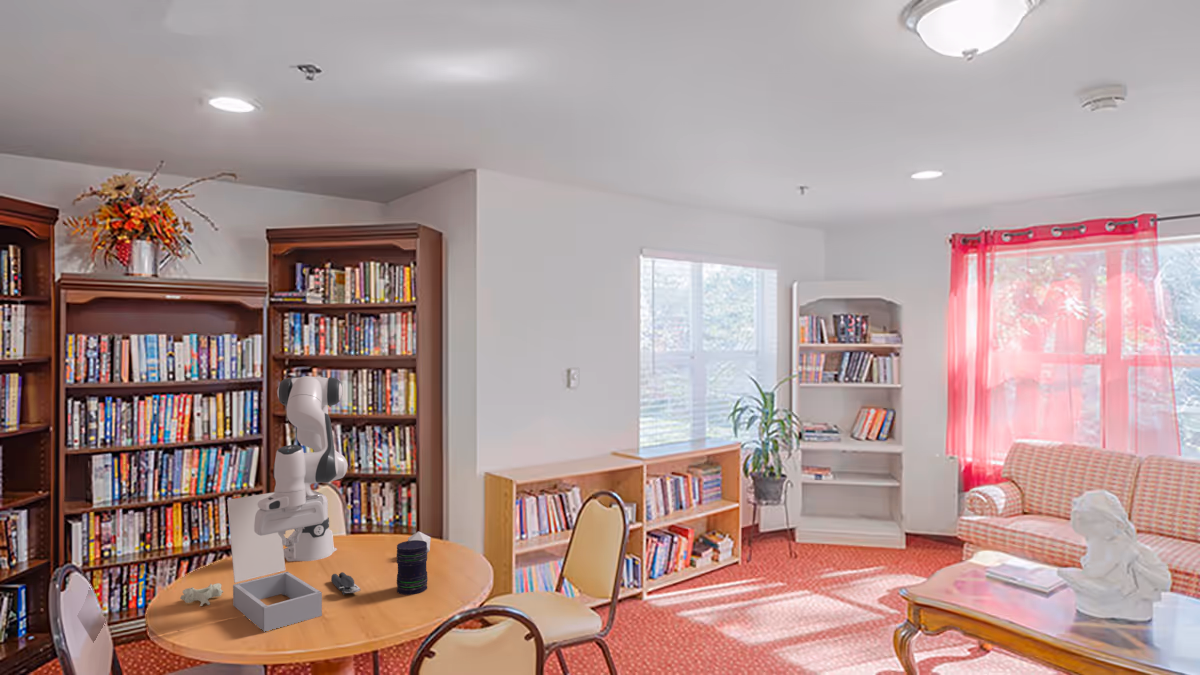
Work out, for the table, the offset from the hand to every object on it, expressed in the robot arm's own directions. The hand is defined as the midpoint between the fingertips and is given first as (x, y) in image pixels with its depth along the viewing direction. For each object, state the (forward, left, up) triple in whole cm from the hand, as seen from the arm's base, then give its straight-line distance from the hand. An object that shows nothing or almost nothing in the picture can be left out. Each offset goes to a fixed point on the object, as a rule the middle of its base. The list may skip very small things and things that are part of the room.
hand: (290, 543), depth 210 cm
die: (-14, +53, -20) cm, 58 cm away
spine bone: (-25, -18, -20) cm, 37 cm away
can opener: (-3, +19, -20) cm, 28 cm away
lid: (-13, -4, -12) cm, 19 cm away
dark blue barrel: (+14, +34, -20) cm, 42 cm away
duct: (0, -4, -20) cm, 20 cm away
